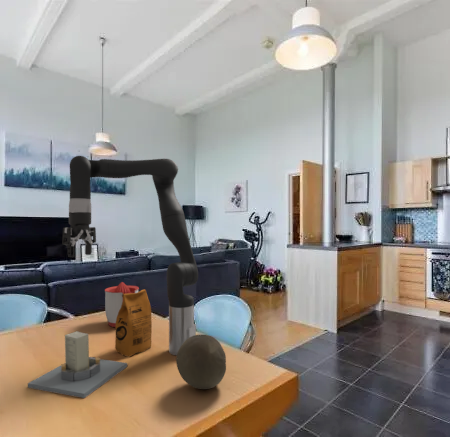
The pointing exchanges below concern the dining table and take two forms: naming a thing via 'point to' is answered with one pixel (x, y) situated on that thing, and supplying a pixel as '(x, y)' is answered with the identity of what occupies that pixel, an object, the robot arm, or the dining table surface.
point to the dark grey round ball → (201, 361)
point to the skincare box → (77, 351)
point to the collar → (81, 371)
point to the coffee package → (133, 324)
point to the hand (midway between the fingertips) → (80, 255)
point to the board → (77, 388)
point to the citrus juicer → (116, 300)
